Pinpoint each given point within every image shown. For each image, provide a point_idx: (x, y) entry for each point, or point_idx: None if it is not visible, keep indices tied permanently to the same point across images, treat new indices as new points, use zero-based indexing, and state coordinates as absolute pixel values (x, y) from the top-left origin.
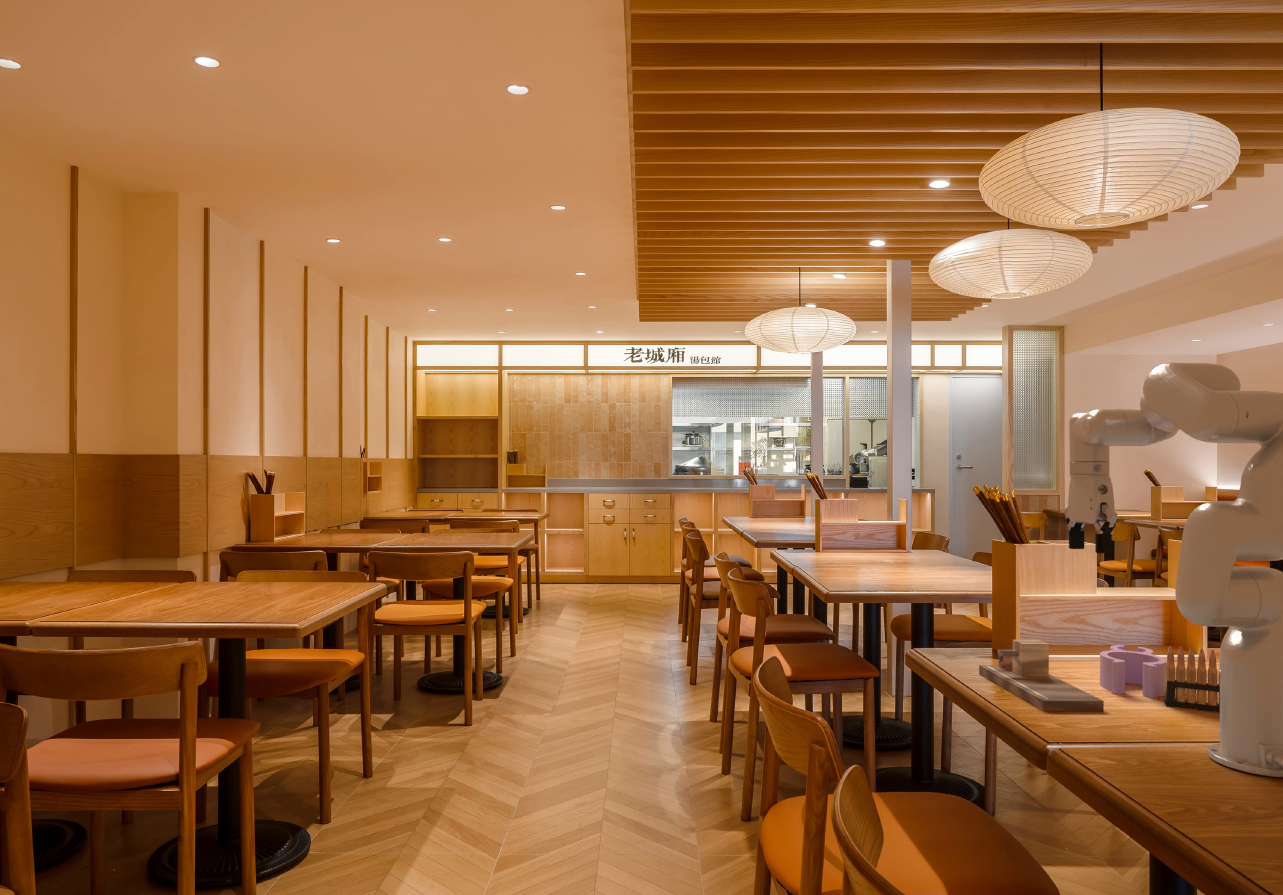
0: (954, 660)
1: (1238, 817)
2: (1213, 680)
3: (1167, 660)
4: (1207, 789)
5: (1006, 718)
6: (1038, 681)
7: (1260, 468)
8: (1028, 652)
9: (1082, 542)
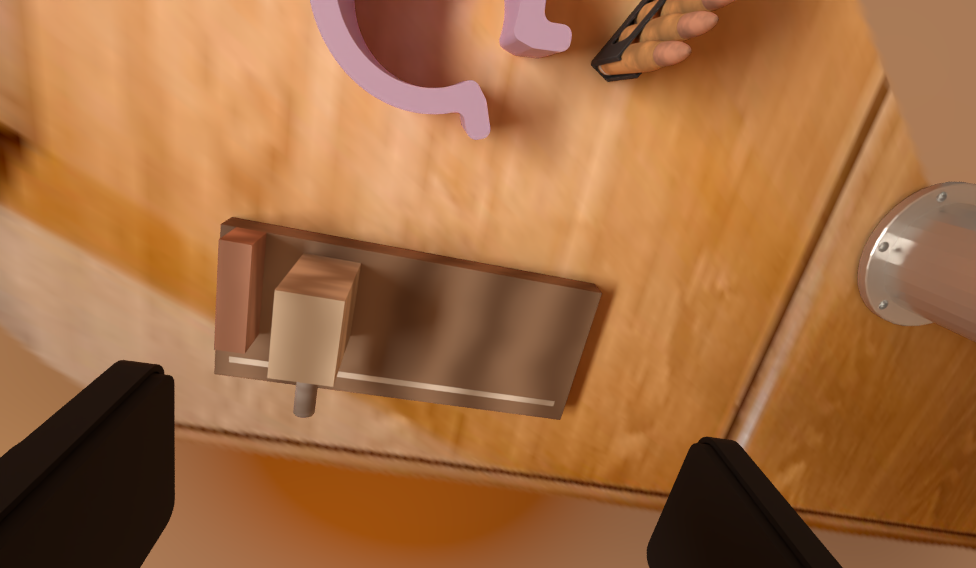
0: (45, 340)
1: None
2: None
3: (658, 65)
4: (928, 418)
5: (574, 492)
6: (410, 327)
7: None
8: (341, 351)
9: (124, 446)
